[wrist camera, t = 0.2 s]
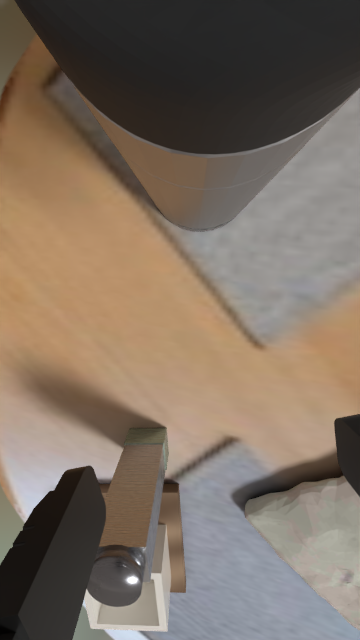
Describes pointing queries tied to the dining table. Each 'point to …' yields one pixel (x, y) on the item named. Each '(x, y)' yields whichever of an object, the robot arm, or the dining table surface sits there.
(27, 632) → the robot arm
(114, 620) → the holder
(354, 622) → the stone
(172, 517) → the board
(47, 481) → the dining table surface
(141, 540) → the capped metal post
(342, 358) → the dining table surface
